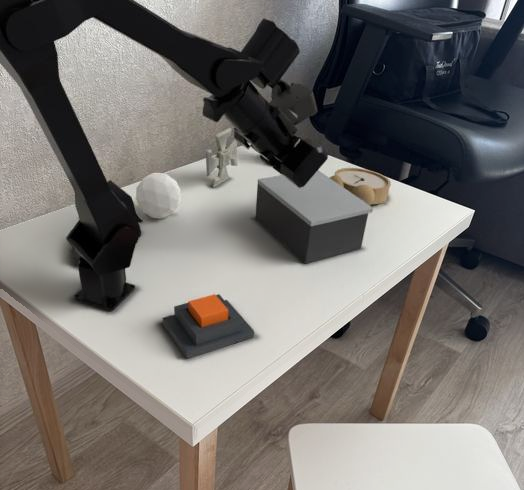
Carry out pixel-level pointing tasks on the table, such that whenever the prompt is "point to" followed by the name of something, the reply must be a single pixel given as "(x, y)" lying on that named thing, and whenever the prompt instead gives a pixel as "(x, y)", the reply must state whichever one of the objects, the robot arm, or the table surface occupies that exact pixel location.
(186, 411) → the table surface
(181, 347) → the block
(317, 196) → the lid
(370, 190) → the alarm clock
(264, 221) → the open storage box
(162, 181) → the geometric ball
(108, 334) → the table surface
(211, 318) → the button
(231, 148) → the cross
